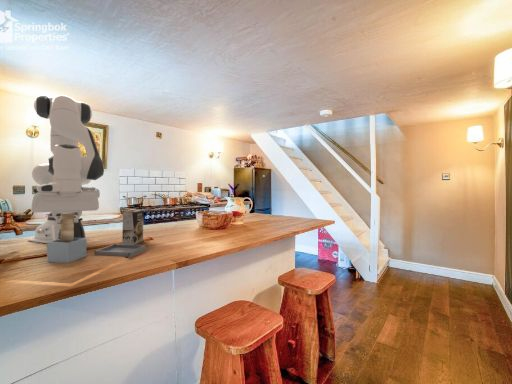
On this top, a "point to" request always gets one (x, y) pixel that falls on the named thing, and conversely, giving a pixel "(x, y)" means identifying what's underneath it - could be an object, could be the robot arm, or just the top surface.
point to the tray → (121, 250)
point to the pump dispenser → (76, 230)
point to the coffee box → (132, 227)
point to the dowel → (67, 227)
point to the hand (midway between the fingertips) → (67, 223)
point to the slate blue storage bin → (66, 250)
